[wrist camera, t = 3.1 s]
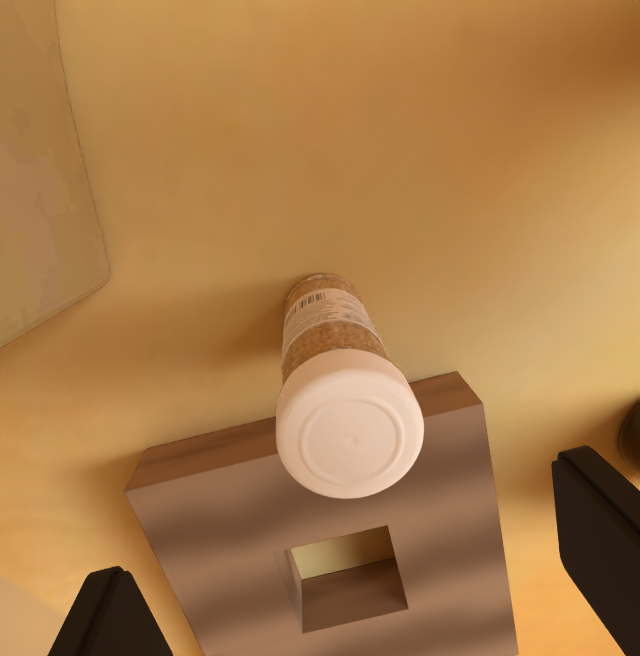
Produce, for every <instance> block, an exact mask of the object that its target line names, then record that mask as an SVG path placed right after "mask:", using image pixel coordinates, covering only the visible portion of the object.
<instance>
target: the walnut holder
mask: <svg viewBox="0 0 640 656" xmlns="http://www.w3.org/2000/svg"><path fill="white" fill-rule="evenodd" d="M409 386H410V388H411V390H412V392H413V393H414V396H415V398H416V400H417V402H418V404H419V407H420V409H421V413H422V416H423V422H424V436H423V443H422V446H421V450H420V452H419V455H418V457H417V459H416V460H415V462H414V464H413V465H412V467H411V468H410V469H409V471H408V472H407V473H406V474H405V475H404V476H403V477H402V478H401V479H400V480H398V481H397V482H396V483H394V484H393V485H391V486H390V487H388V488H386V489H384V490H382V491H380V492H378V493H375V494H372V495H369V496H366V497H361V498H350V499H342V498H333V497H327V496H324V495H321V494H318V493H315V492H313V491H311V490H309V489H307V488H305V487H304V486H303V485H301V484H300V483H299V482H297V481H296V480H295V479H294V478H293V477H292V476H291V475H290V473H289V472H288V471H287V469H286V468H285V466H284V465H283V463H282V461H281V458H280V456H279V453H278V450H277V444H276V417H273V418H269V419H265V420H261V421H257V422H253V423H249V424H245V425H241V426H237V427H233V428H229V429H225V430H221V431H217V432H213V433H209V434H205V435H201V436H197V437H193V438H189V439H185V440H181V441H177V442H173V443H169V444H165V445H161V446H157V447H153V448H148V449H146V451H145V453H144V455H143V457H142V459H141V461H140V462H139V464H138V466H137V468H136V470H135V472H134V474H133V476H132V478H131V480H130V481H129V483H128V485H127V487H126V489H125V491H124V493H125V495H126V497H127V499H128V501H129V503H130V505H131V507H132V509H133V511H134V513H135V515H136V517H137V519H138V521H139V523H140V525H141V527H142V529H143V531H144V533H145V535H146V537H147V539H148V541H149V543H150V545H151V548H152V550H153V552H154V554H155V556H156V558H157V560H158V562H159V564H160V566H161V568H162V570H163V572H164V574H165V576H166V578H167V580H168V582H169V584H170V586H171V588H172V590H173V592H174V594H175V596H176V598H177V600H178V602H179V604H180V606H181V608H182V610H183V612H184V614H185V617H186V619H187V621H188V623H189V625H190V627H191V629H192V631H193V633H194V635H195V637H196V639H197V641H198V643H199V645H200V647H201V649H202V651H203V653H204V655H205V656H514V655H518V654H519V652H518V645H517V638H516V631H515V624H514V617H513V610H512V603H511V596H510V589H509V582H508V575H507V568H506V561H505V554H504V547H503V540H502V533H501V526H500V519H499V512H498V505H497V498H496V491H495V484H494V477H493V470H492V463H491V456H490V450H489V443H488V436H487V429H486V422H485V415H484V408H483V403H482V402H481V400H480V399H479V398H478V397H477V395H476V394H475V393H474V392H473V390H472V389H471V388H470V387H469V385H468V384H467V383H466V382H465V380H464V379H463V378H462V377H461V375H460V374H459V373H458V372H453V373H449V374H445V375H441V376H437V377H433V378H429V379H425V380H421V381H417V382H413V383H409ZM386 525H387V526H388V530H389V534H390V538H391V542H392V546H393V550H394V554H395V558H394V559H390V560H385V561H381V562H377V563H373V564H368V565H364V566H360V567H356V568H352V569H347V570H343V571H339V572H335V573H330V574H326V575H322V576H318V577H314V578H309V579H305V580H301V577H300V575H299V572H298V569H297V566H296V563H295V561H294V558H293V555H292V552H291V549H290V548H294V547H298V546H302V545H307V544H311V543H315V542H319V541H323V540H327V539H332V538H336V537H340V536H344V535H348V534H352V533H357V532H361V531H365V530H369V529H373V528H378V527H382V526H386Z"/></svg>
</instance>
